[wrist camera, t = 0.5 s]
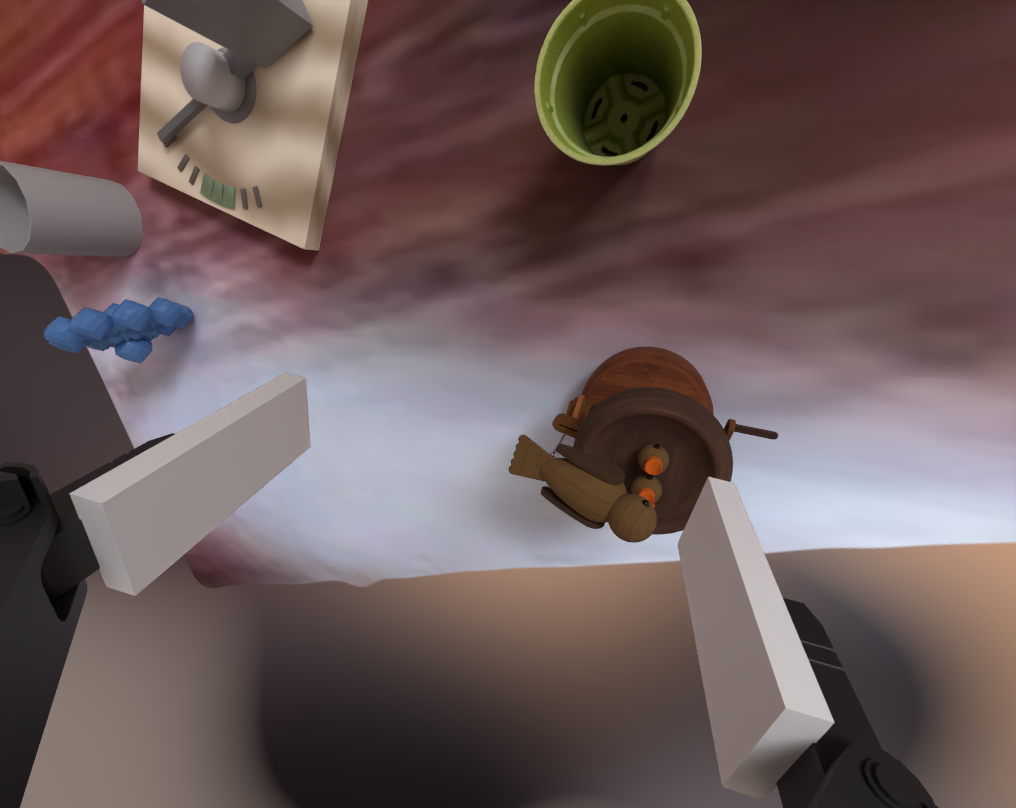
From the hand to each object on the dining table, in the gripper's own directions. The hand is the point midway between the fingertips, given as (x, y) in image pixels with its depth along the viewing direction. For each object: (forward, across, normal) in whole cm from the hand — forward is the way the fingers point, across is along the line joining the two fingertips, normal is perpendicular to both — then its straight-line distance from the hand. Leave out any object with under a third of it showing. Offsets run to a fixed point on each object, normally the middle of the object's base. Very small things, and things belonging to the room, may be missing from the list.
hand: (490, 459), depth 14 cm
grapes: (+31, -45, -14) cm, 57 cm away
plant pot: (+29, +2, +13) cm, 32 cm away
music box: (+25, +10, -8) cm, 28 cm away
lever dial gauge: (+31, -34, +12) cm, 47 cm away
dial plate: (+33, -34, +11) cm, 49 cm away
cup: (+34, -54, -4) cm, 64 cm away
